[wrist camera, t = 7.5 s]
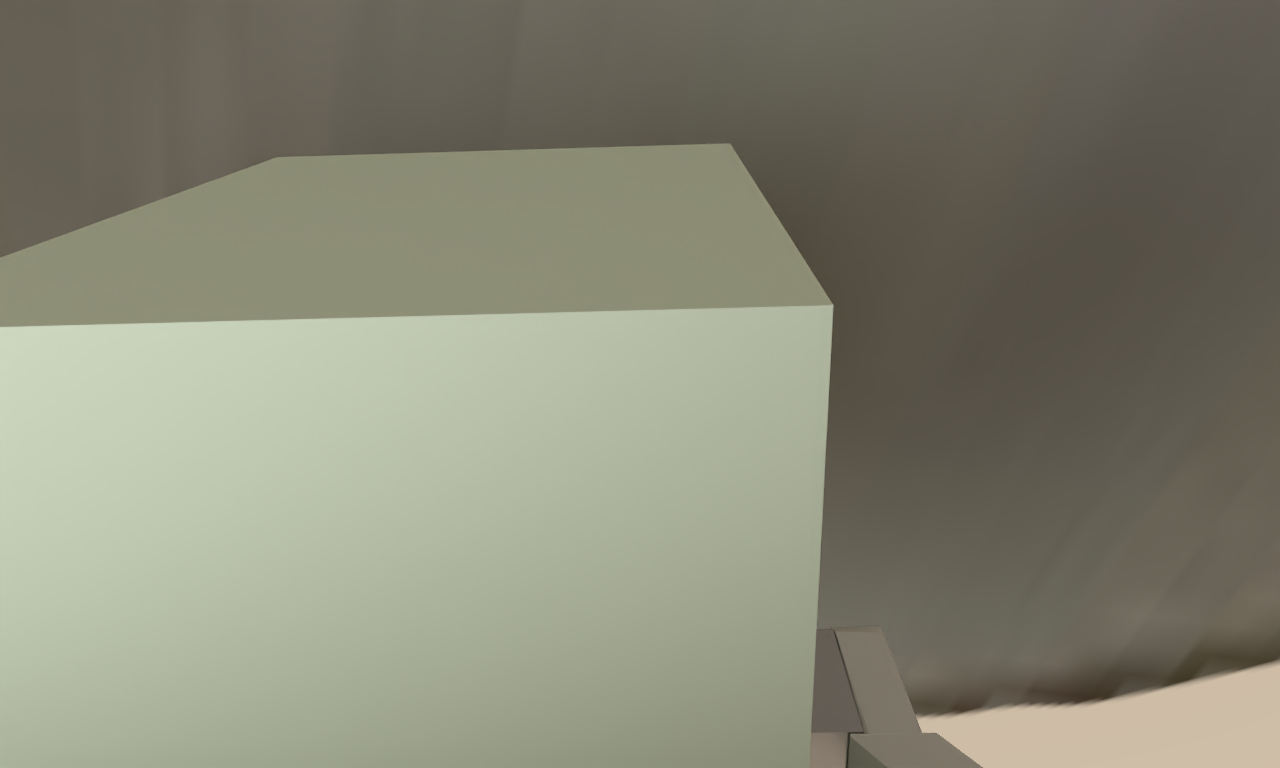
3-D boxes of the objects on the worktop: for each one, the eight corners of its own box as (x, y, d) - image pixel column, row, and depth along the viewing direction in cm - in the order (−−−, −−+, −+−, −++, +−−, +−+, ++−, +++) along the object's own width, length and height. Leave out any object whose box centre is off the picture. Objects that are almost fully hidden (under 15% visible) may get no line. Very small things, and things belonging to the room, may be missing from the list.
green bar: (730, 143, 10) (832, 305, 4) (725, 868, 14) (773, 1436, 8) (277, 157, 10) (-205, 332, 4) (406, 873, 14) (244, 1433, 8)
